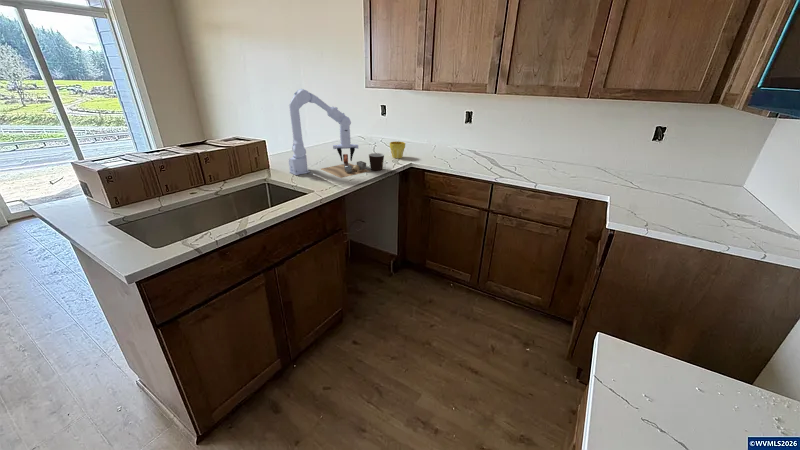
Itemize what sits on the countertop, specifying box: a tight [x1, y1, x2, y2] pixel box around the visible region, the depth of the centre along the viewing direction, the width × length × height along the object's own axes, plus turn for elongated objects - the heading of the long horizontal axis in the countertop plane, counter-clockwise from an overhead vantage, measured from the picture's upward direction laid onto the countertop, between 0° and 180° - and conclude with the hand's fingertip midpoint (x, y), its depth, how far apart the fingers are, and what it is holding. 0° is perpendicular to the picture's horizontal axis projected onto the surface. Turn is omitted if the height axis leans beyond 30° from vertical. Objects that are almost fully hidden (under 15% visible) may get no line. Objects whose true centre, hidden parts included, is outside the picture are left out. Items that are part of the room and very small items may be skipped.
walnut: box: [353, 164, 360, 171], centre depth 187 cm, size 4×4×4 cm
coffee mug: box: [368, 152, 385, 172], centre depth 192 cm, size 12×9×10 cm
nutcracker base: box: [320, 160, 371, 179], centre depth 189 cm, size 20×22×6 cm
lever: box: [342, 153, 352, 173], centre depth 191 cm, size 18×4×6 cm, turn 14°
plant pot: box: [389, 141, 406, 159], centre depth 223 cm, size 10×10×10 cm
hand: (346, 160), depth 197 cm, fingers open, 5 cm apart
